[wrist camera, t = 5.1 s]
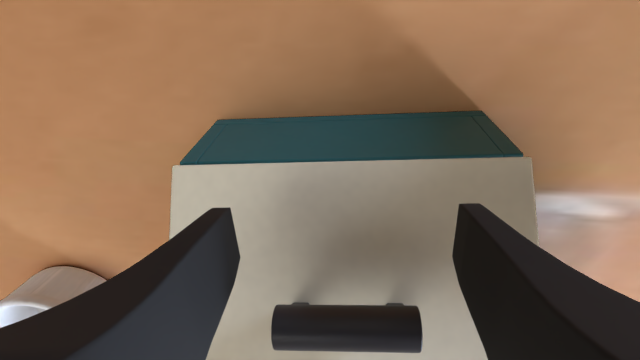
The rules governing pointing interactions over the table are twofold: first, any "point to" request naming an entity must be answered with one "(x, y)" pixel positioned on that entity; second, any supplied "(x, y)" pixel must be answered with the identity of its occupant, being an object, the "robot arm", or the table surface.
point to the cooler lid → (350, 253)
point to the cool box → (352, 139)
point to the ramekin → (46, 292)
